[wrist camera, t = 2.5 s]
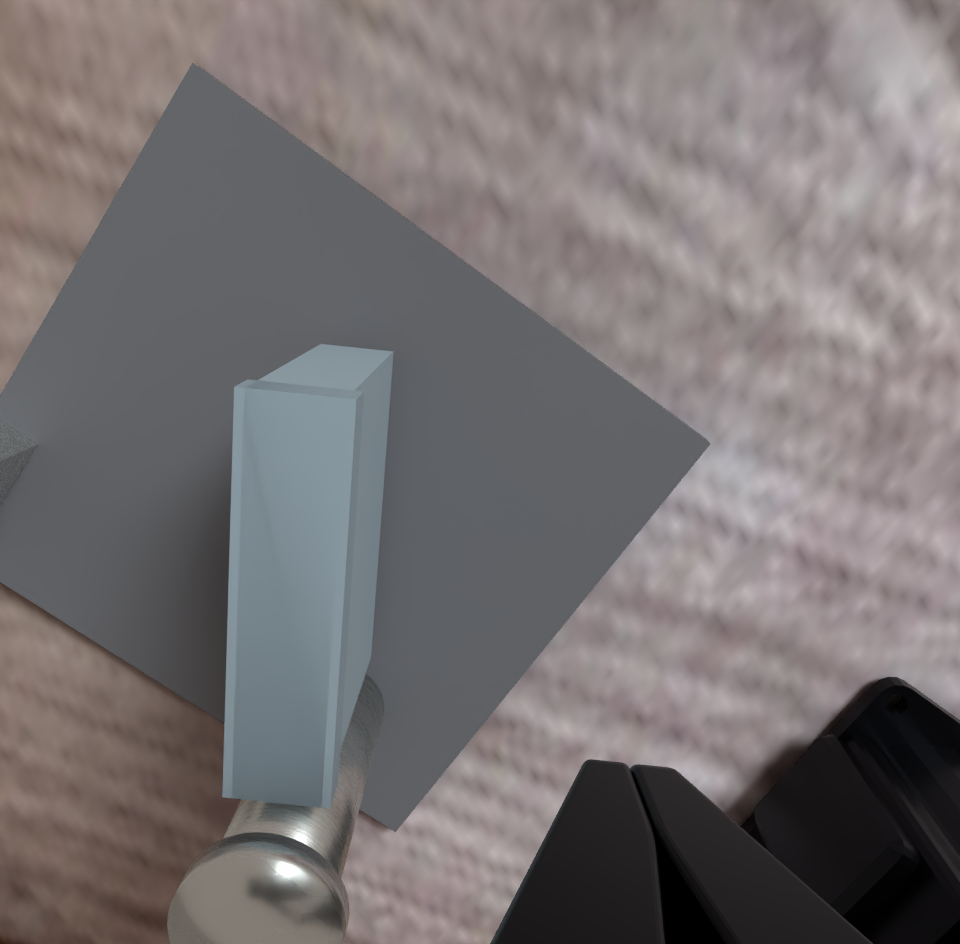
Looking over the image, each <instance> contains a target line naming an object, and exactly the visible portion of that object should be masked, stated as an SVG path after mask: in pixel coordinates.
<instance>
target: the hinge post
mask: <svg viewBox="0 0 960 944" xmlns="http://www.w3.org/2000/svg"><path fill="white" fill-rule="evenodd" d="M383 717H384V700H383V696H382V693H381V691H380V689H379V687H378V686H377V684H376V683H375V682H374V681H373V680H372V679H371V678H370V677H369V676H368V675H367V674H365V677H364V680H363V683H362V686H361V689H360V692H359V695H358V698H357V701H356V704H355V707H354V710H353V713H352V716H351V720H350V723H349V726H348V729H347V732H346V735H345V738H344V741H343V744H342V747H341V750H340V763H339V778H338V786H337V789H336V792H335V795H334V799H333V802H332V805H331V808H330V809H328V808H318V807H309V806H299V805H290V804H281V803H271V802H262V801H252V800H243V799H241V801H240V803H239V806H238V808H237V810H236V812H235V814H234V816H233V818H232V820H231V822H230V824H229V827H228V829H227V831H226V833H225V835H224V837H223V839H222V840H219V841H217V842H215V843H214V844H212V845H210V846H209V847H207V848H206V849H205V850H204V851H202V852H201V853H200V854H199V855H198V856H197V857H196V858H195V860H194V861H193V862H192V863H191V865H190V867H189V868H188V870H187V872H186V874H185V876H184V878H183V880H182V882H181V883H180V885H179V887H178V889H177V891H176V893H175V895H174V897H173V900H172V902H171V904H170V908H169V912H168V920H167V929H168V936H169V941H170V944H343V942H344V938H345V934H346V930H347V925H348V920H349V901H348V895H347V892H346V889H345V886H344V884H343V882H342V880H341V877H342V873H343V869H344V865H345V862H346V858H347V854H348V850H349V846H350V843H351V839H352V835H353V831H354V827H355V824H356V820H357V816H358V812H359V808H360V805H361V801H362V797H363V793H364V789H365V786H366V782H367V778H368V774H369V770H370V767H371V763H372V759H373V755H374V751H375V748H376V744H377V740H378V736H379V732H380V729H381V725H382V721H383Z"/></svg>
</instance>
